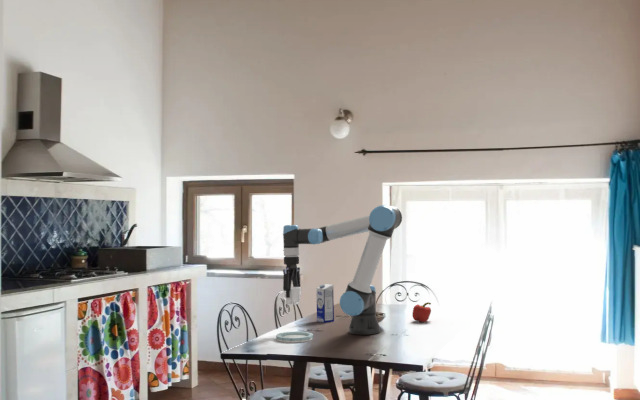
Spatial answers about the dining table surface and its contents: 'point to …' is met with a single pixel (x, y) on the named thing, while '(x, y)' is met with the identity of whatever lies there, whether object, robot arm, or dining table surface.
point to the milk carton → (325, 303)
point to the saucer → (294, 337)
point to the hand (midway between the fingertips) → (292, 303)
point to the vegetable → (421, 312)
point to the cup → (294, 294)
